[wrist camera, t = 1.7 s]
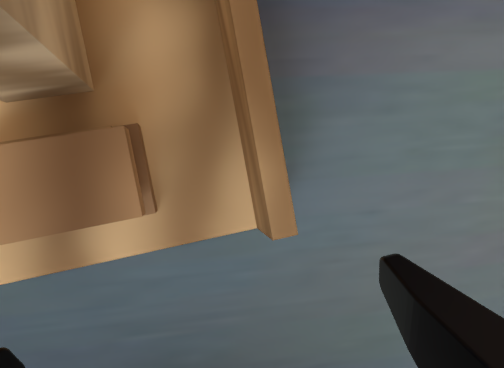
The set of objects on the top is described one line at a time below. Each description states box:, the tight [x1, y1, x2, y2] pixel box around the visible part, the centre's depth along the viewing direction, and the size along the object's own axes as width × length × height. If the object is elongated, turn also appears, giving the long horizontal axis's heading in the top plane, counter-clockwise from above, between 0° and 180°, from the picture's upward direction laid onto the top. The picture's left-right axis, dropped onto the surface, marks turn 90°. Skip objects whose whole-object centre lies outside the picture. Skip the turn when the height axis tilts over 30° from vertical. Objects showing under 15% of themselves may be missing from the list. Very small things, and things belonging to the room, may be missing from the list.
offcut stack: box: [0, 123, 158, 245], centre depth 15 cm, size 7×4×4 cm, turn 100°
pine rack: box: [0, 0, 298, 285], centre depth 16 cm, size 20×16×5 cm
